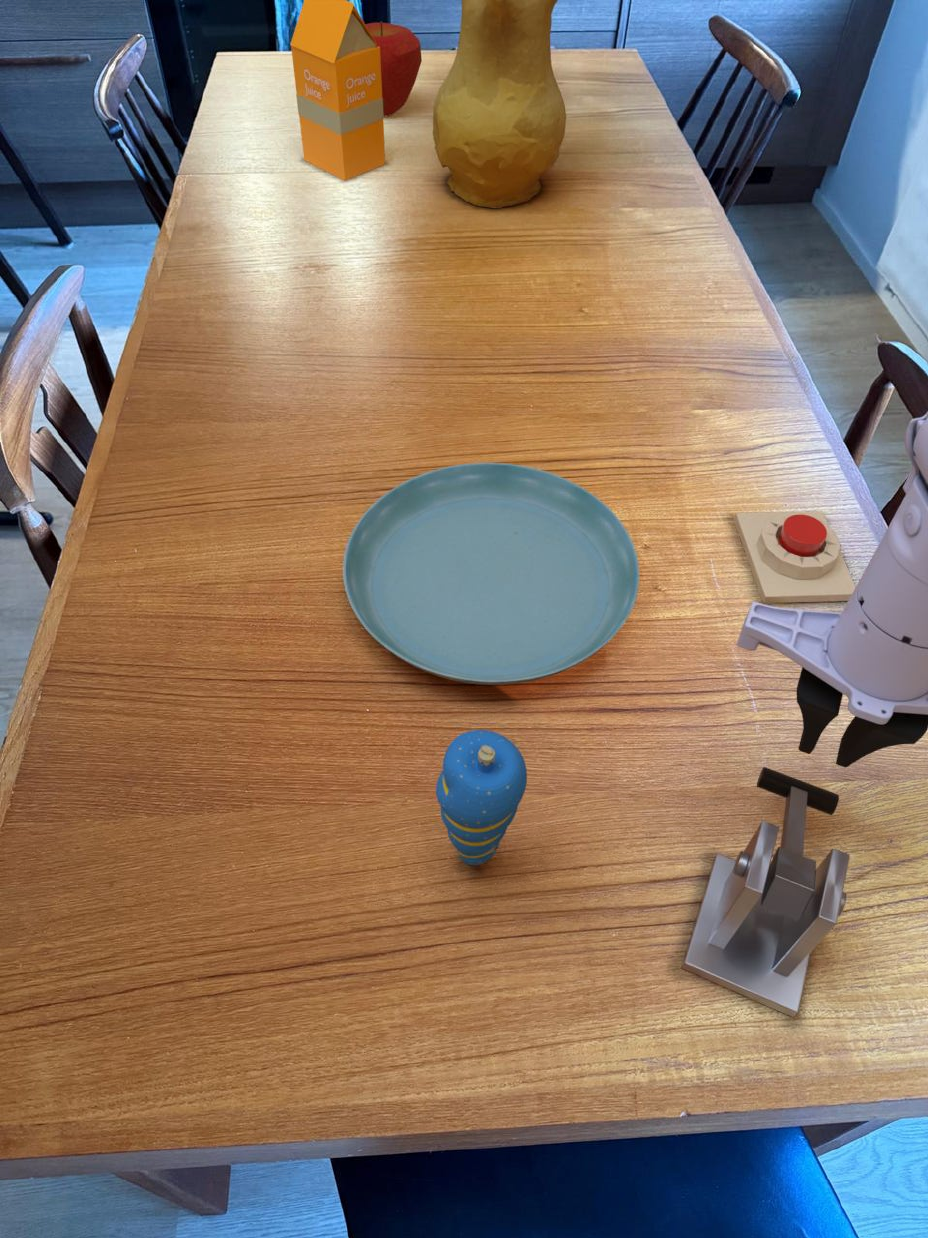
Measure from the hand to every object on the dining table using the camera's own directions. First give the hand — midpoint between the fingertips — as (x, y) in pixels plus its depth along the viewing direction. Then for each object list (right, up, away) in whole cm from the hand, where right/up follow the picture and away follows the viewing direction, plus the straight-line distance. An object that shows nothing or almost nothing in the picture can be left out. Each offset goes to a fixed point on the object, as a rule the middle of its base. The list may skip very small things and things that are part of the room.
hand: (825, 746), depth 55 cm
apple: (-34, +85, +82) cm, 123 cm away
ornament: (-22, -8, +5) cm, 24 cm away
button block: (+6, +13, +23) cm, 27 cm away
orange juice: (-39, +72, +70) cm, 108 cm away
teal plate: (-20, +11, +21) cm, 31 cm away
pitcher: (-17, +67, +67) cm, 97 cm away
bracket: (-4, -12, +2) cm, 13 cm away
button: (+6, +14, +22) cm, 27 cm away
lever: (-2, -7, 0) cm, 7 cm away
